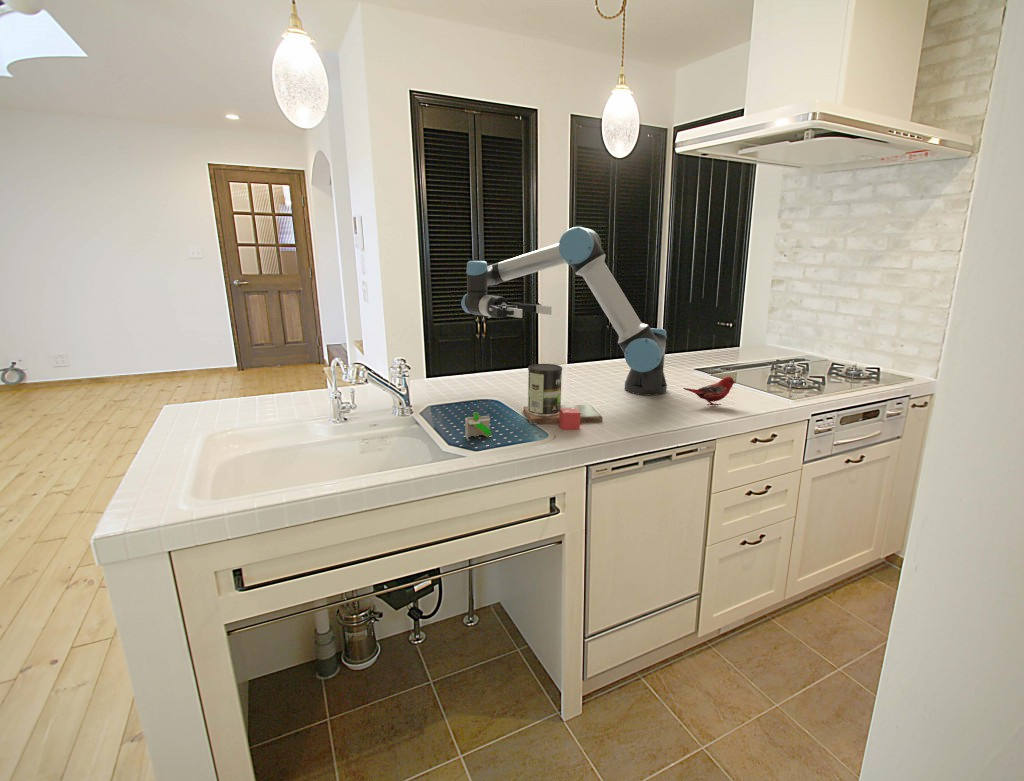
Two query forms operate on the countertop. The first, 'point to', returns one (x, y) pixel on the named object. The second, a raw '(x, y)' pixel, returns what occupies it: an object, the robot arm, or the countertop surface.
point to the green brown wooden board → (585, 410)
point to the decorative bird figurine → (714, 390)
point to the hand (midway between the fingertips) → (536, 312)
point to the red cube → (569, 418)
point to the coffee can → (544, 389)
